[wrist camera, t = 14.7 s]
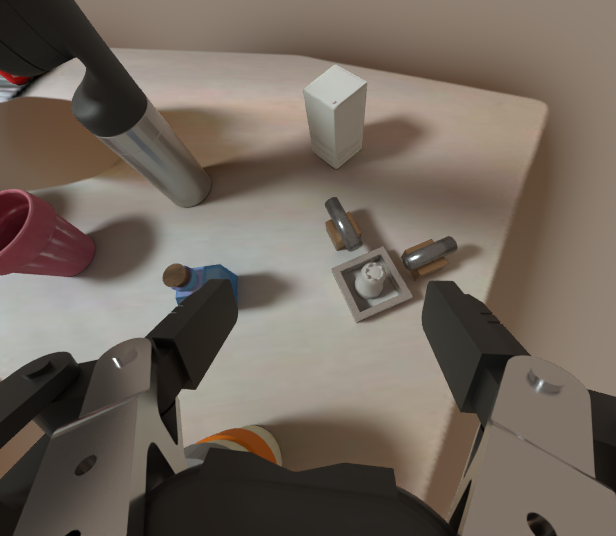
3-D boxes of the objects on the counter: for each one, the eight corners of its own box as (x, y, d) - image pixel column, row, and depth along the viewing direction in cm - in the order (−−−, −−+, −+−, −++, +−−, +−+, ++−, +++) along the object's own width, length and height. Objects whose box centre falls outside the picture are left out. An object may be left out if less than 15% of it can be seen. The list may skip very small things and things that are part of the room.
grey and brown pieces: (310, 225, 43) (305, 209, 38) (395, 188, 43) (401, 167, 38) (356, 322, 37) (358, 318, 31) (456, 279, 36) (474, 268, 31)
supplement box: (363, 148, 47) (369, 81, 35) (335, 171, 46) (333, 110, 34) (337, 130, 49) (335, 61, 38) (311, 151, 49) (301, 88, 37)
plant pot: (86, 214, 52) (9, 174, 40) (120, 247, 48) (45, 213, 36) (33, 263, 50) (-65, 236, 38) (64, 303, 45) (-36, 287, 33)
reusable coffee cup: (240, 547, 30) (147, 724, 16) (192, 452, 34) (85, 526, 20) (314, 473, 31) (290, 576, 17) (259, 391, 35) (204, 420, 21)
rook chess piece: (361, 304, 37) (366, 293, 30) (349, 279, 39) (351, 263, 31) (387, 293, 37) (398, 279, 30) (374, 268, 39) (382, 250, 31)
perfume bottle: (237, 275, 42) (198, 249, 31) (236, 310, 40) (195, 295, 29) (204, 280, 43) (154, 256, 31) (202, 314, 41) (148, 301, 29)
